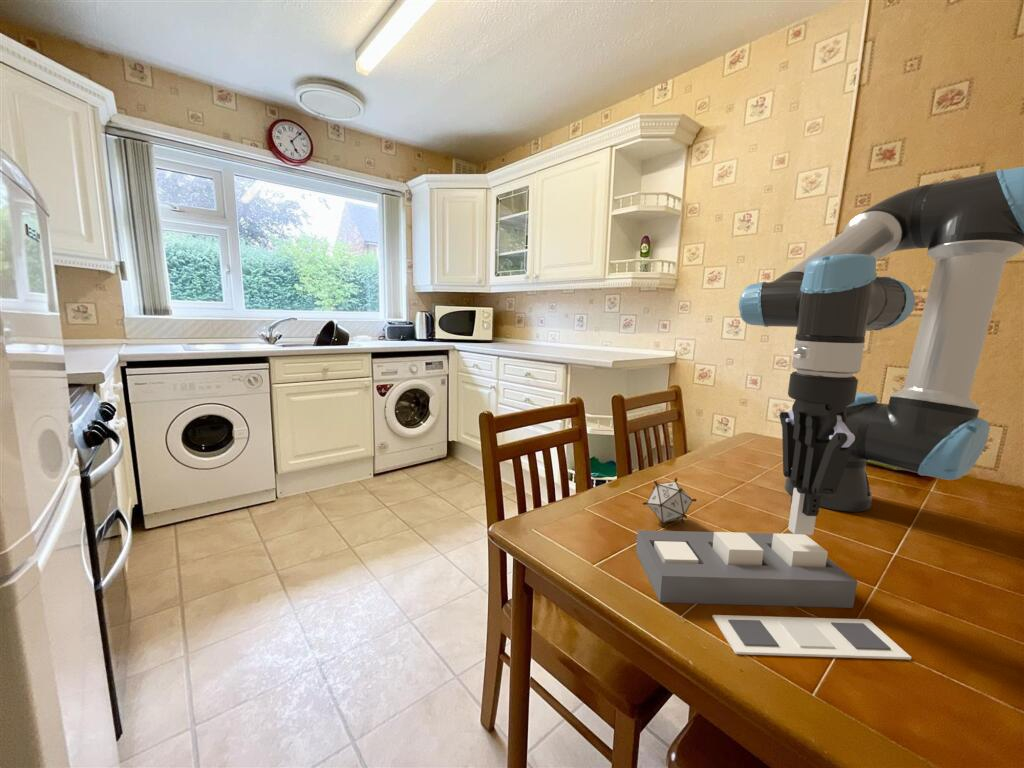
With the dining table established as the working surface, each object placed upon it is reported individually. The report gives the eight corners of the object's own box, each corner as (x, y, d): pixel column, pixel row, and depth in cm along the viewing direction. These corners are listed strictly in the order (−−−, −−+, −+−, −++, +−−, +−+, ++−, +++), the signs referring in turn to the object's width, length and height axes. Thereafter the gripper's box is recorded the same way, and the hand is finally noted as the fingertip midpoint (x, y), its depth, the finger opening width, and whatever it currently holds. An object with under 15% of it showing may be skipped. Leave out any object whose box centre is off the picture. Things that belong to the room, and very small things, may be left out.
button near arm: (802, 552, 64) (804, 534, 63) (824, 571, 59) (827, 551, 59) (770, 551, 64) (773, 533, 64) (790, 570, 59) (793, 551, 59)
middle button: (743, 550, 64) (745, 532, 64) (761, 569, 59) (763, 550, 59) (712, 549, 64) (714, 531, 64) (727, 568, 59) (729, 549, 59)
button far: (683, 559, 65) (685, 541, 64) (696, 579, 60) (698, 560, 59) (653, 558, 65) (654, 541, 64) (663, 578, 60) (664, 559, 59)
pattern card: (868, 621, 54) (868, 618, 54) (911, 659, 48) (911, 655, 48) (712, 616, 54) (712, 613, 54) (735, 654, 48) (736, 650, 48)
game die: (676, 543, 78) (704, 519, 71) (633, 523, 79) (656, 498, 72) (679, 504, 85) (705, 479, 78) (640, 487, 86) (662, 460, 79)
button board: (795, 556, 68) (798, 534, 67) (852, 607, 56) (857, 581, 55) (635, 552, 68) (637, 530, 68) (659, 602, 57) (662, 575, 56)
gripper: (768, 366, 63) (750, 510, 67) (830, 379, 51) (804, 556, 54) (817, 367, 63) (797, 511, 67) (893, 380, 50) (862, 558, 54)
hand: (800, 531), depth 61 cm, fingers closed
